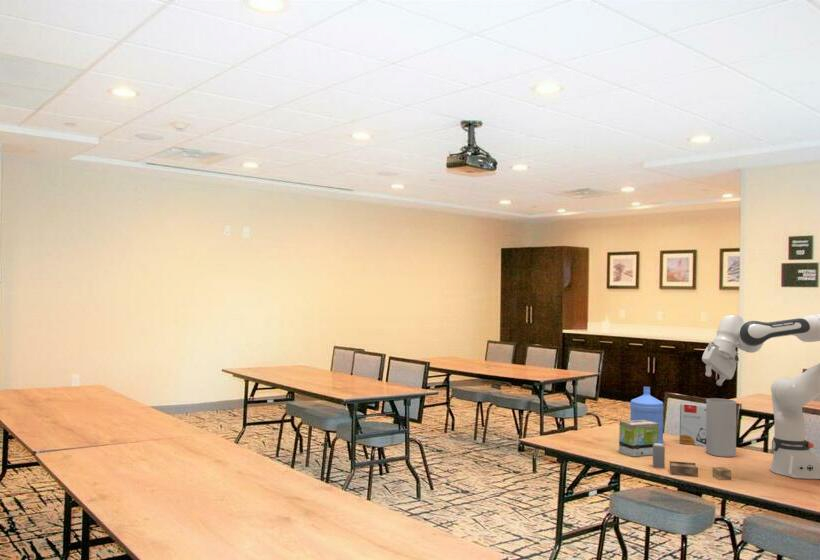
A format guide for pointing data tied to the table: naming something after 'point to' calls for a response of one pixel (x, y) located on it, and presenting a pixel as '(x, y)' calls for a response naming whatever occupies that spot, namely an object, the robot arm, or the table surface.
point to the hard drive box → (693, 424)
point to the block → (721, 473)
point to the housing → (658, 455)
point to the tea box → (637, 437)
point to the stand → (683, 468)
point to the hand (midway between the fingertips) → (713, 380)
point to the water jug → (648, 410)
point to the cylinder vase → (721, 427)
